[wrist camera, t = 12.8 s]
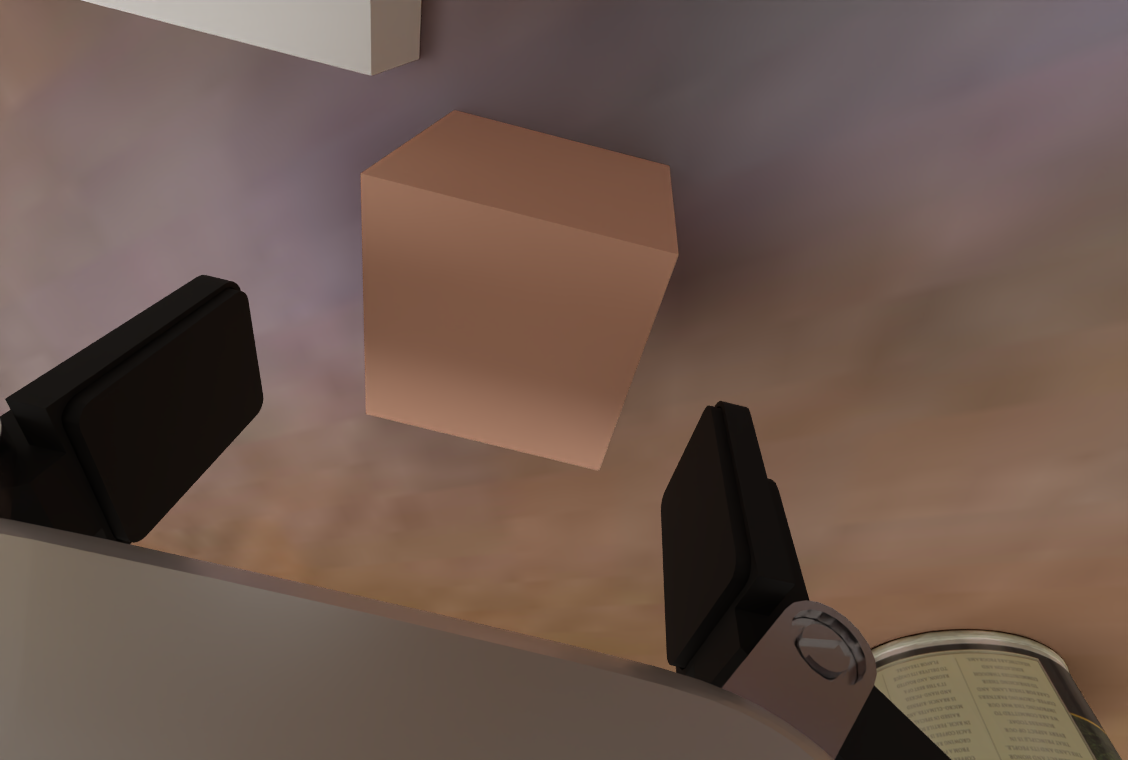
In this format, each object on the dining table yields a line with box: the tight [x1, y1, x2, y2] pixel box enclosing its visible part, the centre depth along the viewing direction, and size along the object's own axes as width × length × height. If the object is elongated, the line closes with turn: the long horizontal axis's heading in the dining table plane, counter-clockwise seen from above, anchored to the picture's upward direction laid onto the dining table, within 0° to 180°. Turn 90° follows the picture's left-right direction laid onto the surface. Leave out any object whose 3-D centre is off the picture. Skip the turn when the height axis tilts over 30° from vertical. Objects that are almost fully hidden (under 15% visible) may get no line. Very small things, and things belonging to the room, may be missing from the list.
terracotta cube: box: [361, 110, 679, 471], centre depth 14 cm, size 6×6×6 cm
